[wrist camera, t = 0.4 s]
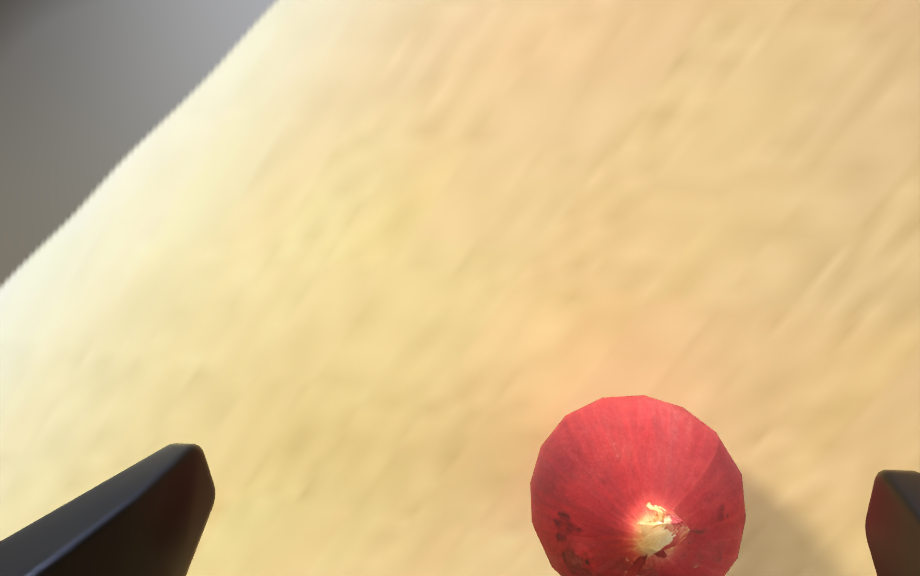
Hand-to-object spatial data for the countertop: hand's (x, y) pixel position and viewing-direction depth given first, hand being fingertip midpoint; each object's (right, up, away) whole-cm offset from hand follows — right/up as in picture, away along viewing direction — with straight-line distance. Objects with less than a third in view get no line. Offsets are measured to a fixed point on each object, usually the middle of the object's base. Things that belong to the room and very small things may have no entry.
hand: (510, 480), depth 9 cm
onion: (+5, -4, +14) cm, 15 cm away
